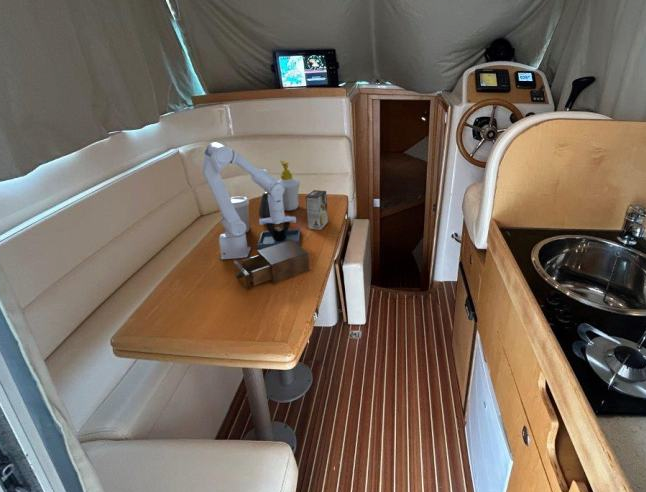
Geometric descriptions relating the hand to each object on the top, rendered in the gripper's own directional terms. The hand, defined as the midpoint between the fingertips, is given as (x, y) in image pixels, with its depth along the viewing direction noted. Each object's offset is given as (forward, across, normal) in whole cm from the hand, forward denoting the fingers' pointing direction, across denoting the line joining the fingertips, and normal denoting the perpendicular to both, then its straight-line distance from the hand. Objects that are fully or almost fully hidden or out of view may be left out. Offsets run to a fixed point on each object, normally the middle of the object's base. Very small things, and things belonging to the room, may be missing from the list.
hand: (279, 238), depth 153 cm
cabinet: (+1, +4, -24) cm, 24 cm away
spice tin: (+1, 0, 0) cm, 1 cm away
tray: (+1, 0, 0) cm, 1 cm away
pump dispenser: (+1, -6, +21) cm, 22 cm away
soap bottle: (+1, +2, +37) cm, 37 cm away
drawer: (0, -5, -29) cm, 29 cm away
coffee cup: (+1, -18, +13) cm, 22 cm away
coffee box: (+1, +16, +13) cm, 21 cm away
